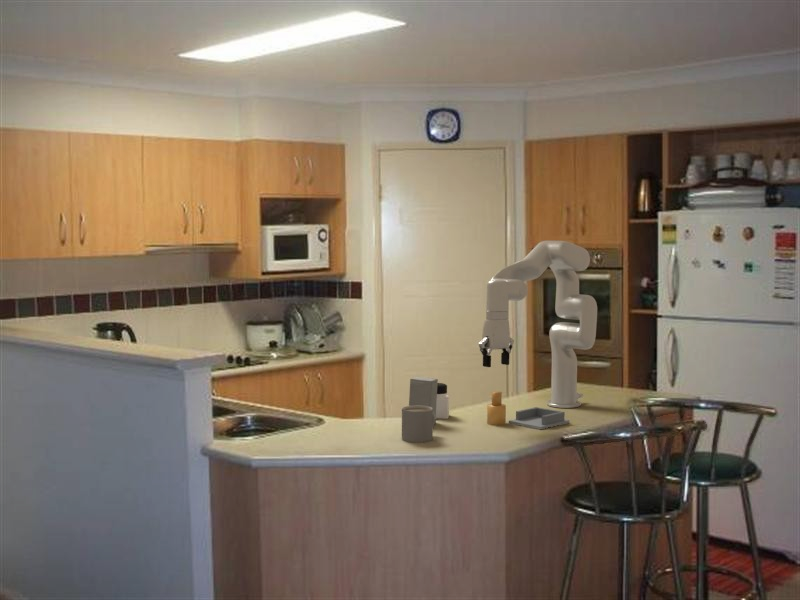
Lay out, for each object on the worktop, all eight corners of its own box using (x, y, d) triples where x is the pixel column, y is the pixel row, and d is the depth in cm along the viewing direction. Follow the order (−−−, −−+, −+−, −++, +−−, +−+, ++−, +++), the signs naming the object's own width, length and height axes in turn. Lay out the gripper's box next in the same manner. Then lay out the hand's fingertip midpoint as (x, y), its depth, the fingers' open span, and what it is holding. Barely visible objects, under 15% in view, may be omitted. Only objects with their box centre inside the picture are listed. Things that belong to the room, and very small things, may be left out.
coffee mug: (415, 443, 316) (415, 412, 315) (395, 438, 324) (395, 407, 323) (446, 438, 324) (447, 407, 323) (427, 432, 332) (427, 403, 331)
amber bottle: (495, 420, 351) (495, 389, 350) (509, 423, 347) (509, 392, 346) (483, 423, 347) (483, 392, 346) (497, 426, 342) (497, 394, 341)
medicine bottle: (448, 415, 362) (449, 382, 361) (447, 419, 354) (448, 385, 353) (429, 414, 362) (429, 381, 361) (427, 418, 355) (427, 385, 354)
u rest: (537, 417, 358) (537, 406, 358) (569, 423, 348) (569, 411, 347) (508, 423, 347) (508, 412, 346) (540, 429, 337) (540, 418, 336)
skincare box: (407, 424, 345) (407, 378, 344) (415, 420, 352) (415, 375, 351) (430, 426, 342) (430, 380, 341) (437, 422, 349) (438, 377, 348)
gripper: (504, 314, 352) (503, 362, 353) (472, 316, 340) (471, 366, 341) (521, 315, 347) (520, 364, 348) (488, 318, 335) (487, 369, 336)
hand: (496, 365), depth 345 cm, fingers open, 9 cm apart
